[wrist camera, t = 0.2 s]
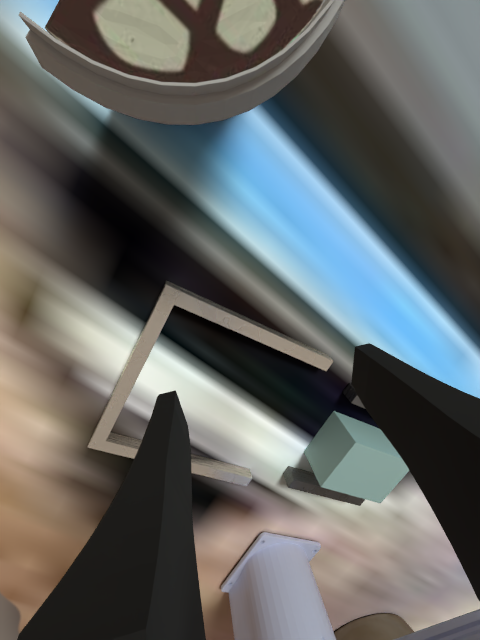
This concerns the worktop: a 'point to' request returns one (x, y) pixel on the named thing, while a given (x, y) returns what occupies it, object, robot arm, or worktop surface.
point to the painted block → (355, 459)
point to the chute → (238, 323)
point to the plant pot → (374, 628)
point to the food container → (181, 53)
